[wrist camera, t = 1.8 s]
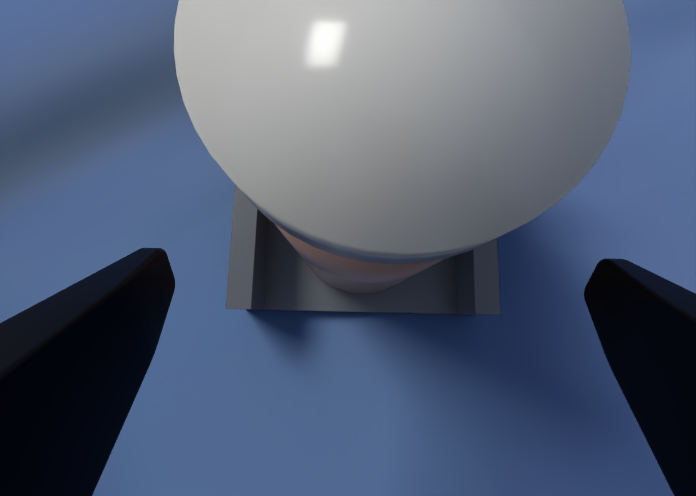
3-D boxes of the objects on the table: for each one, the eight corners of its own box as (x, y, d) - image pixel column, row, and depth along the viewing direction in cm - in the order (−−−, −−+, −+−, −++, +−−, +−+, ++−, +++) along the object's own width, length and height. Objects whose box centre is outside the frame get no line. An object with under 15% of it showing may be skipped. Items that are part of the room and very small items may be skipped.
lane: (474, 314, 18) (546, 315, 12) (245, 309, 18) (190, 307, 12) (465, 33, 21) (519, -92, 14) (263, 28, 21) (227, -100, 14)
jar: (458, 229, 18) (722, 36, 6) (360, 325, 18) (403, 362, 5) (363, 136, 19) (402, -222, 6) (265, 224, 18) (79, 19, 5)
